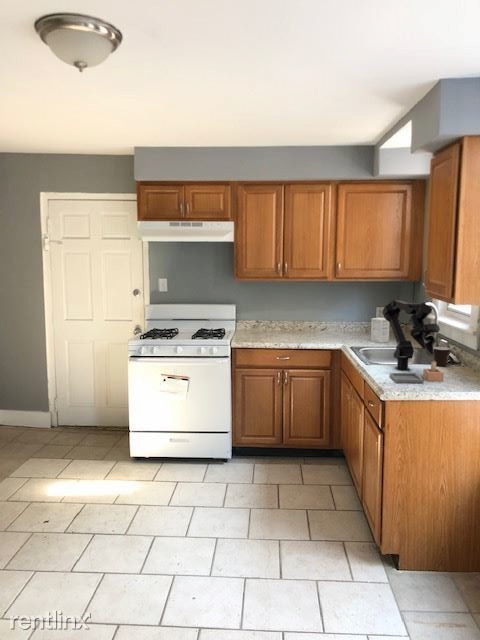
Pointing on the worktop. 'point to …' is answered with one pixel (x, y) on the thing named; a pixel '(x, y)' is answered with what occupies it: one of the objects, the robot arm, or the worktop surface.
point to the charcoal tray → (406, 378)
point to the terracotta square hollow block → (433, 375)
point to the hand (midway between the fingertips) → (428, 351)
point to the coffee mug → (441, 356)
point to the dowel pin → (433, 366)
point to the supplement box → (379, 330)
